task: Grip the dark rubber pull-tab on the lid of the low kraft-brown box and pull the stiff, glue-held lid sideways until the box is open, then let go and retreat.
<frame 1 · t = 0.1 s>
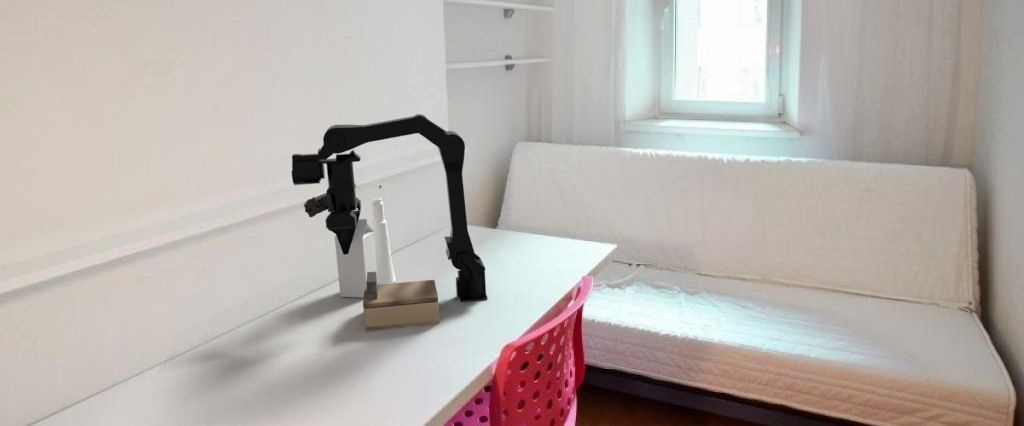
hand: (347, 248, 165), 15 cm above the table, fingers open, 9 cm apart
lid: (399, 284, 160), point 8 cm above the table, slide at 0.0 cm
cosmetic bottle: (384, 282, 186), on the table
milk carton: (359, 293, 179), on the table
box: (402, 317, 162), on the table
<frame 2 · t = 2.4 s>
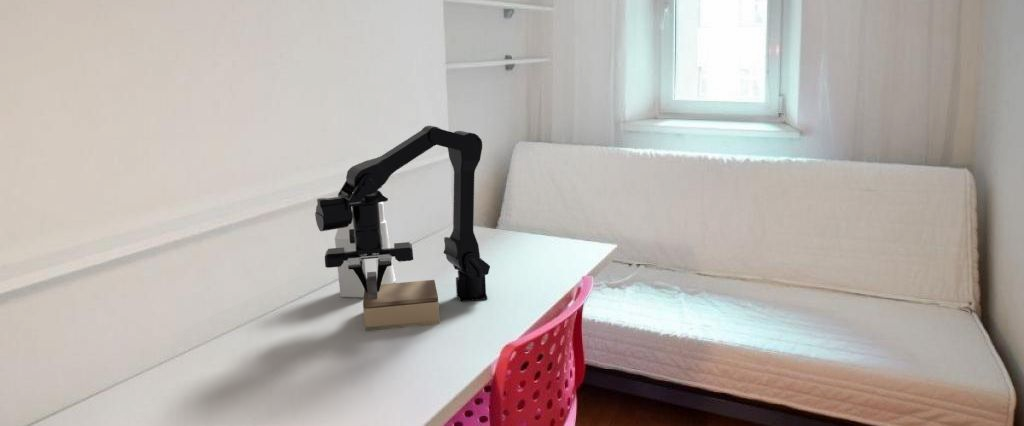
hand: (372, 291, 160), 7 cm above the table, fingers closed on lid, 2 cm apart
lid: (399, 284, 160), point 8 cm above the table, slide at 0.0 cm, touching gripper
everything else where it was.
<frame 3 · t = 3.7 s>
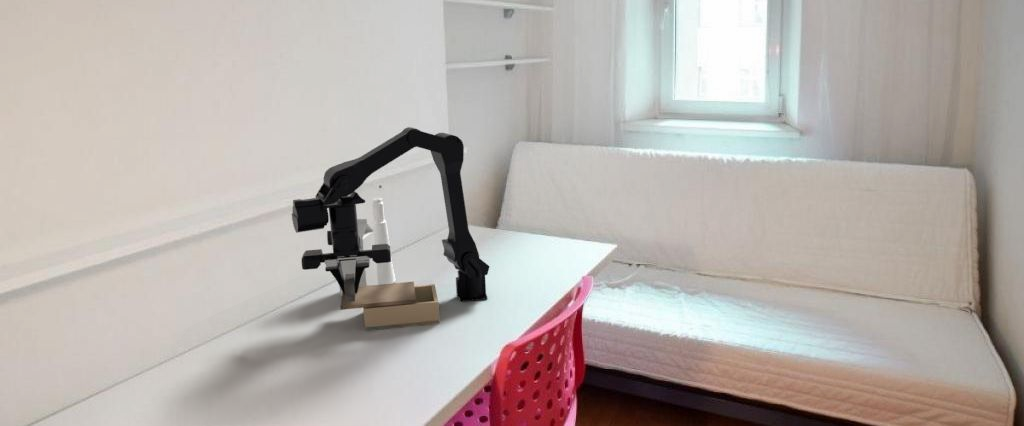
hand: (350, 293, 159), 7 cm above the table, fingers closed on lid, 2 cm apart
lid: (378, 286, 159), point 8 cm above the table, slide at 4.8 cm, touching gripper
everything else where it was.
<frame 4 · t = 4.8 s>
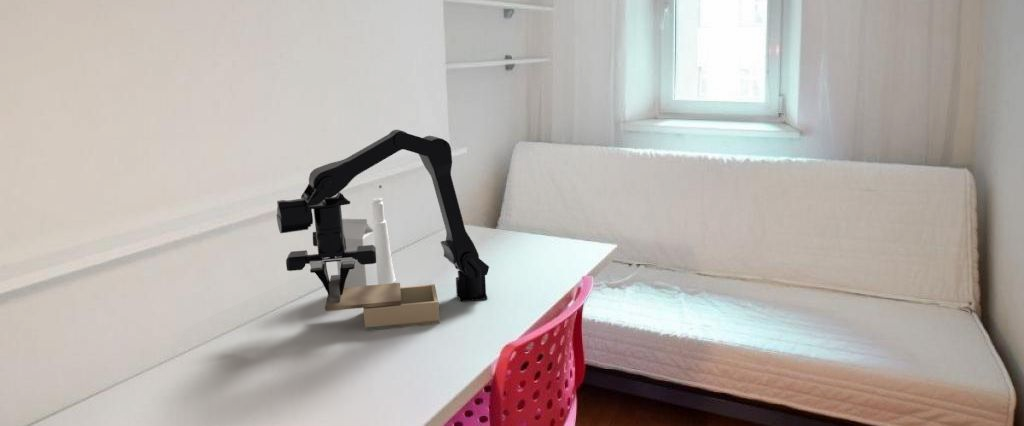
hand: (336, 294, 158), 7 cm above the table, fingers closed on lid, 2 cm apart
lid: (363, 287, 159), point 8 cm above the table, slide at 7.9 cm, touching gripper
everything else where it was.
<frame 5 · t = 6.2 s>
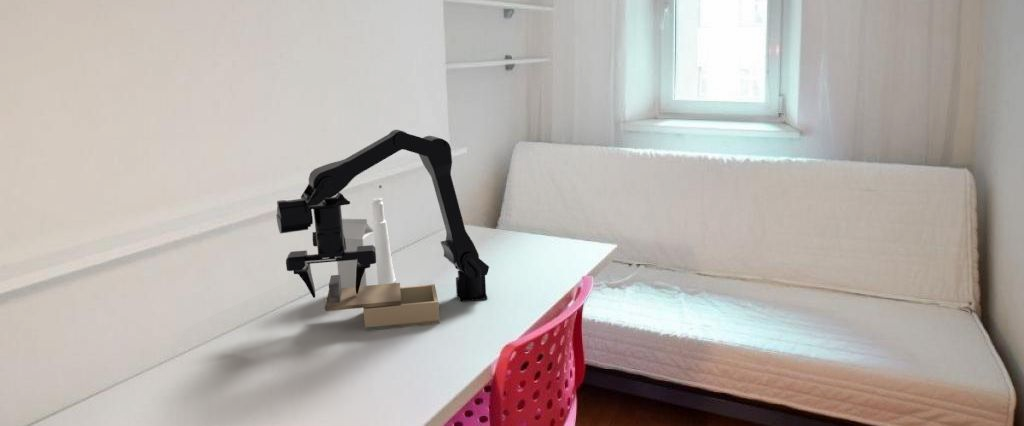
hand: (335, 295, 158), 7 cm above the table, fingers open, 9 cm apart
lid: (363, 287, 159), point 8 cm above the table, slide at 7.9 cm
everything else where it was.
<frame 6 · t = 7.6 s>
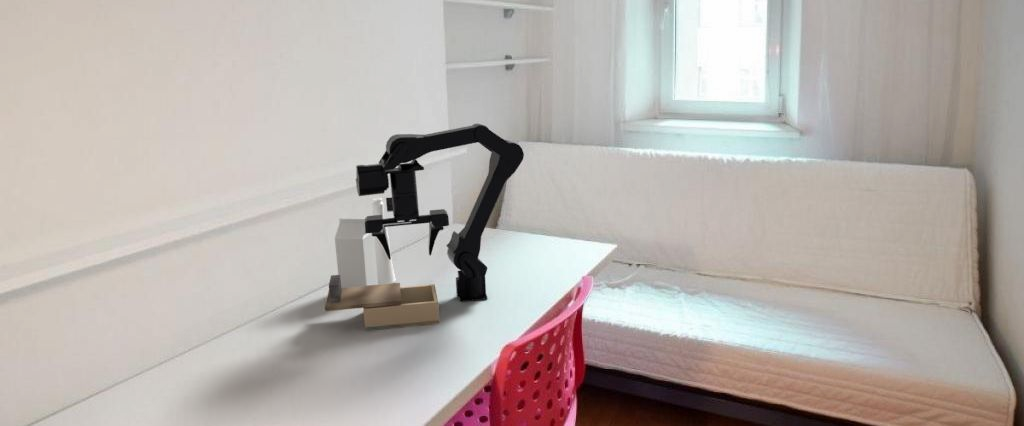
hand: (410, 257, 166), 12 cm above the table, fingers open, 9 cm apart
nothing on the table moved.
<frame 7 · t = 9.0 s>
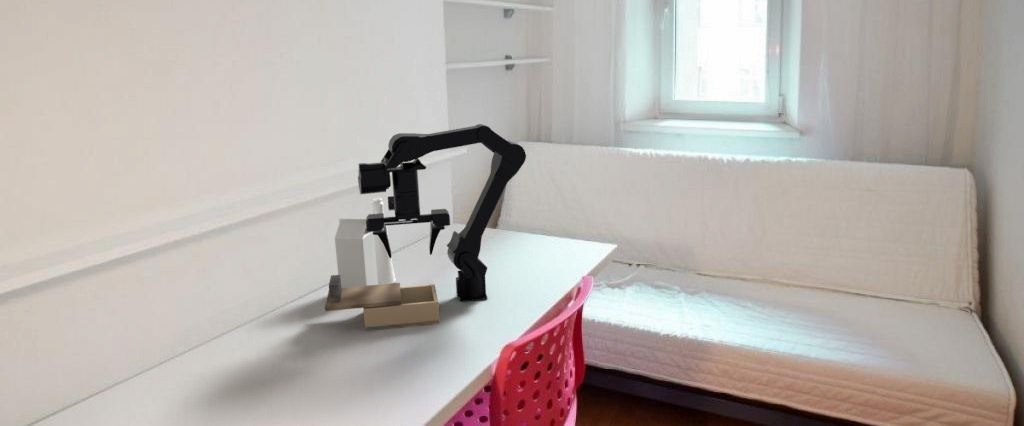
hand: (410, 256, 166), 12 cm above the table, fingers open, 9 cm apart
nothing on the table moved.
at the end: lid slide at 7.9 cm; the gripper is holding nothing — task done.
